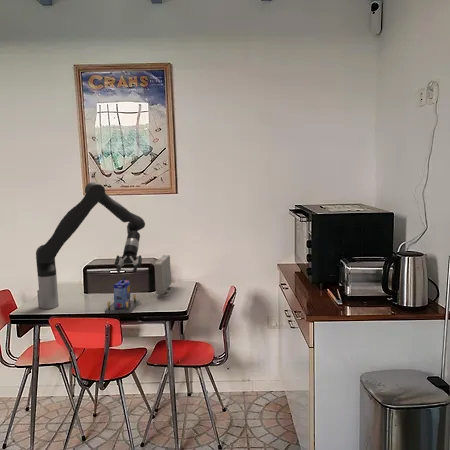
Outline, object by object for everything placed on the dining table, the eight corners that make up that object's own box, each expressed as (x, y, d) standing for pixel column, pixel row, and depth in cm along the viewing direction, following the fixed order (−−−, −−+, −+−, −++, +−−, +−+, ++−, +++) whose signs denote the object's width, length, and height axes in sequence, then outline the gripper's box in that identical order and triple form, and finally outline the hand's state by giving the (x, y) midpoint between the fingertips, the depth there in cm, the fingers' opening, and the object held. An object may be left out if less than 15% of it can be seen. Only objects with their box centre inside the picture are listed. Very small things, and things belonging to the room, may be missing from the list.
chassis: (104, 313, 223) (104, 302, 222) (115, 303, 239) (115, 293, 239) (130, 313, 222) (129, 302, 221) (139, 303, 238) (138, 293, 238)
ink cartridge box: (124, 308, 225) (122, 280, 224) (113, 307, 226) (112, 280, 225) (131, 302, 235) (130, 275, 233) (121, 302, 236) (120, 275, 234)
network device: (166, 298, 247) (165, 263, 245) (151, 298, 248) (149, 263, 245) (174, 286, 272) (173, 254, 270) (160, 286, 273) (159, 254, 271)
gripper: (117, 244, 245) (111, 268, 235) (142, 243, 244) (137, 268, 234) (120, 252, 251) (115, 276, 241) (145, 251, 250) (140, 276, 240)
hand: (126, 272), depth 238 cm, fingers open, 8 cm apart
